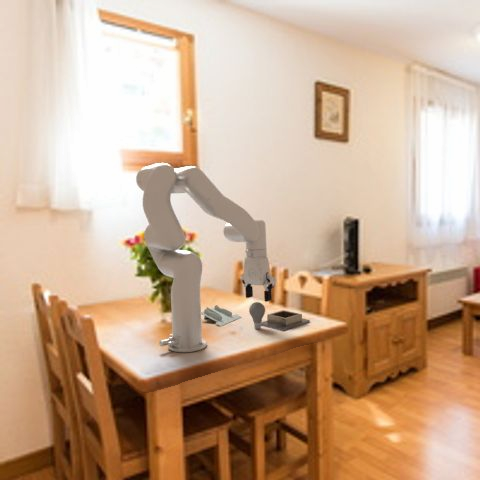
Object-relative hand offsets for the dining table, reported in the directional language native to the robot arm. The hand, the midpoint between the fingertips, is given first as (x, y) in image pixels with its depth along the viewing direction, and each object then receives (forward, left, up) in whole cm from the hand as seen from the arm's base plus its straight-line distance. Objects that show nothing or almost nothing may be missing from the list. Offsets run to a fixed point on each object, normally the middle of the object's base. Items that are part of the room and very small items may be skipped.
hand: (258, 299), depth 153 cm
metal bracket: (-2, +20, -12) cm, 24 cm away
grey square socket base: (+11, -3, -11) cm, 16 cm away
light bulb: (-1, 0, -11) cm, 11 cm away
